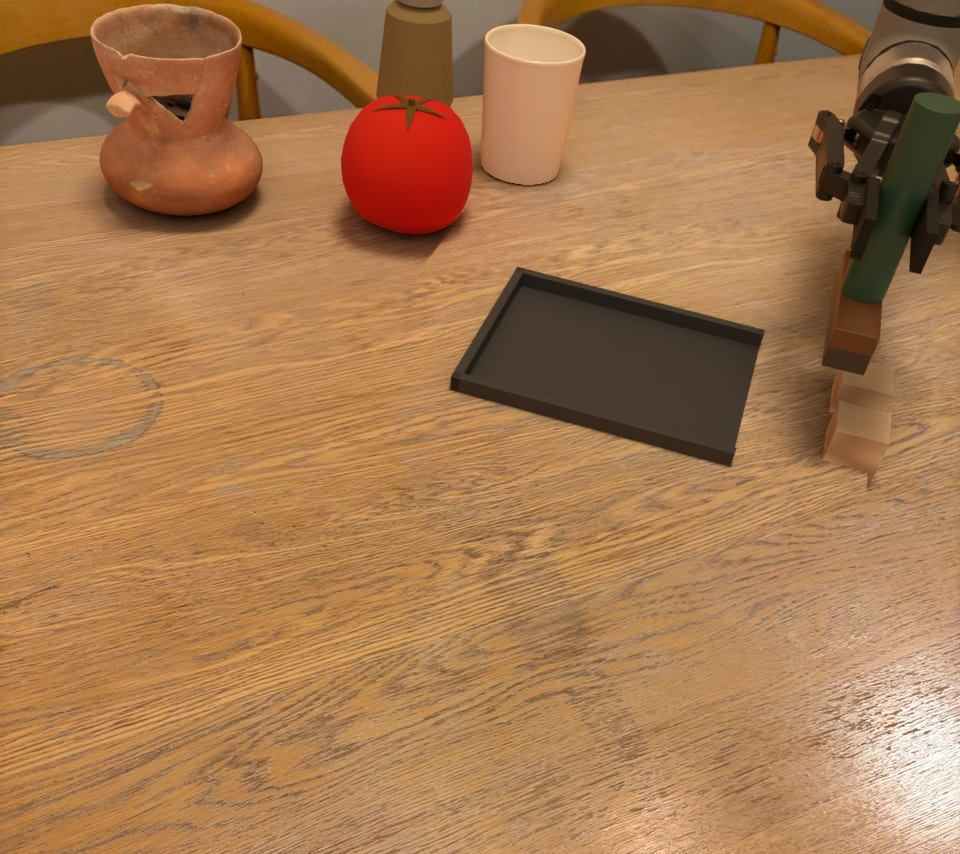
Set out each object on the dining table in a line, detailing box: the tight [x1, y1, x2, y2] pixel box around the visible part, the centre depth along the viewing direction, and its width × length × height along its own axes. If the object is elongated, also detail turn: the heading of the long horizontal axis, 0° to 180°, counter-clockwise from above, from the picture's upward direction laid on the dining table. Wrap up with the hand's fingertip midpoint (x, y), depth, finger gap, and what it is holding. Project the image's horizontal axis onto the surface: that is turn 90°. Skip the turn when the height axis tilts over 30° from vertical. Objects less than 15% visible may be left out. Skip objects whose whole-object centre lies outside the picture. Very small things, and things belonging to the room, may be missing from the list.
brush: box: [821, 92, 960, 375], centre depth 70 cm, size 3×12×16 cm, turn 163°
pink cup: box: [480, 23, 587, 186], centre depth 103 cm, size 10×10×12 cm
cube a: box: [828, 361, 896, 414], centre depth 82 cm, size 4×4×4 cm
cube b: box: [821, 401, 893, 486], centre depth 78 cm, size 4×4×4 cm
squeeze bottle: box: [376, 0, 454, 108], centre depth 103 cm, size 8×8×18 cm
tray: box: [449, 266, 766, 468], centre depth 83 cm, size 22×18×2 cm
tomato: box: [340, 91, 474, 235], centre depth 93 cm, size 12×13×11 cm
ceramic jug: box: [89, 3, 264, 217], centre depth 91 cm, size 18×14×14 cm
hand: (893, 246), depth 66 cm, fingers closed on brush, 3 cm apart
